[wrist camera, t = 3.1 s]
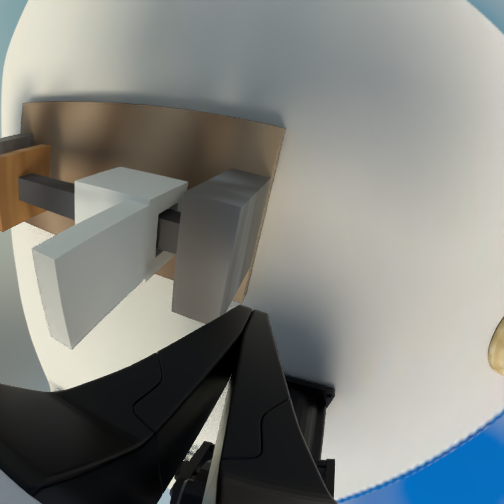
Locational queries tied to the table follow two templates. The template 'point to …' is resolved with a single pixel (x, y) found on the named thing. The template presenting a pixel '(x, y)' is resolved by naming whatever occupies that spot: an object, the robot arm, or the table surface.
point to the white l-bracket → (103, 249)
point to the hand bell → (497, 350)
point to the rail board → (156, 162)
